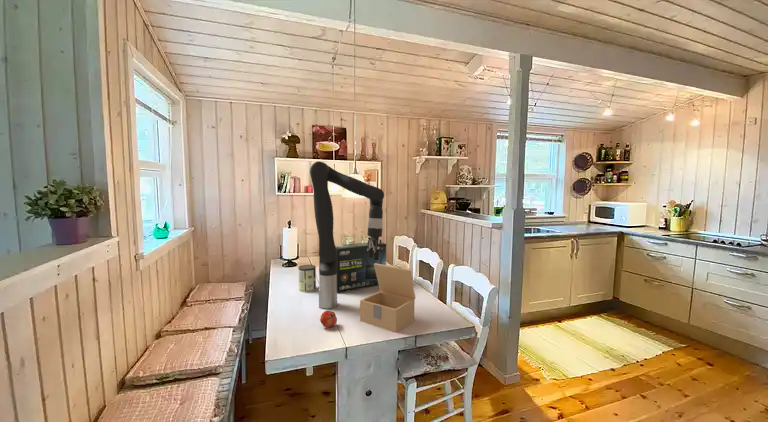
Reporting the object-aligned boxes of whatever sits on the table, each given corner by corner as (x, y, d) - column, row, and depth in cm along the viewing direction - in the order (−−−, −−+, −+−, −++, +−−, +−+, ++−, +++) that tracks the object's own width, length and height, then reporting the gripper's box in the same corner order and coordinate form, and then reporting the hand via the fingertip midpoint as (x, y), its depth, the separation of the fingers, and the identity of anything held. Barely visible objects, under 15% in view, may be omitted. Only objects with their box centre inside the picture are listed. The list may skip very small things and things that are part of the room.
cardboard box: (380, 310, 166) (380, 291, 165) (414, 320, 154) (414, 299, 154) (359, 321, 153) (359, 300, 152) (395, 332, 141) (395, 310, 140)
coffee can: (307, 285, 205) (307, 263, 204) (319, 288, 200) (319, 266, 199) (295, 290, 197) (294, 267, 196) (307, 293, 191) (306, 269, 190)
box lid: (380, 291, 165) (381, 289, 166) (414, 299, 154) (415, 298, 154) (373, 264, 159) (375, 262, 160) (409, 270, 148) (410, 269, 149)
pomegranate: (317, 331, 147) (325, 324, 140) (315, 315, 151) (323, 308, 144) (333, 329, 151) (341, 323, 144) (330, 314, 154) (338, 306, 148)
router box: (336, 294, 190) (336, 248, 188) (328, 288, 200) (328, 245, 197) (387, 283, 210) (387, 242, 208) (378, 279, 219) (378, 240, 217)
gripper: (363, 226, 173) (362, 256, 173) (372, 227, 160) (370, 260, 160) (377, 226, 176) (375, 256, 176) (387, 228, 162) (385, 260, 162)
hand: (373, 258), depth 168 cm, fingers open, 8 cm apart
